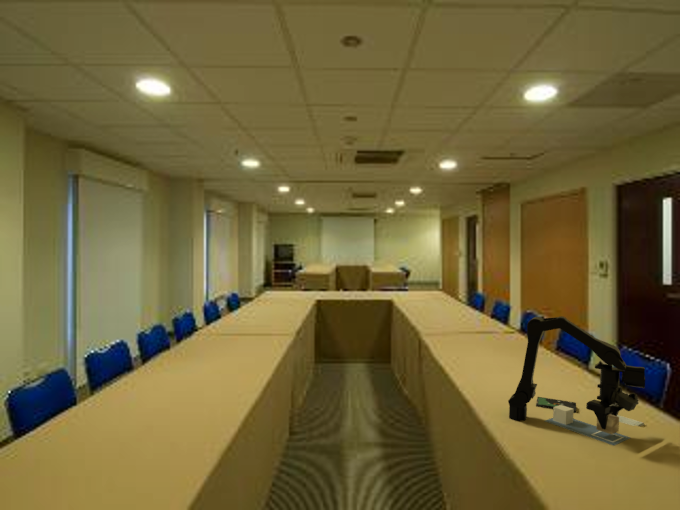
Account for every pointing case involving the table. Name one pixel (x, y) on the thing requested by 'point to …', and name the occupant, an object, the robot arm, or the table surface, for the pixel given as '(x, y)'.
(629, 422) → the hard drive
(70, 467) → the table surface
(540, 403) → the disk drive
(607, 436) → the board
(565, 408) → the cream cube
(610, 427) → the maple cube
